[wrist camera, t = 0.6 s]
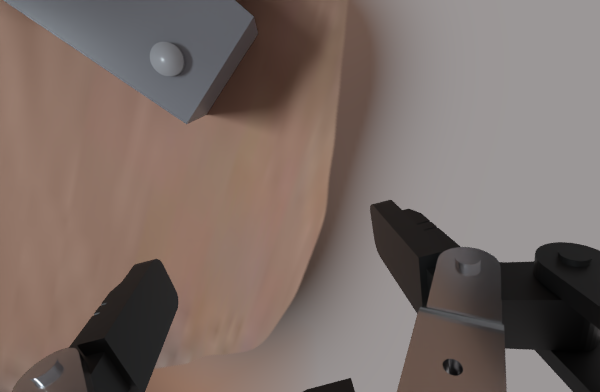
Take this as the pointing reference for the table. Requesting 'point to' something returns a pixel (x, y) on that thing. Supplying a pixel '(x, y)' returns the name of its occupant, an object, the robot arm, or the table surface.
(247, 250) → the table surface
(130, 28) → the grey box with knob
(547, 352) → the robot arm
